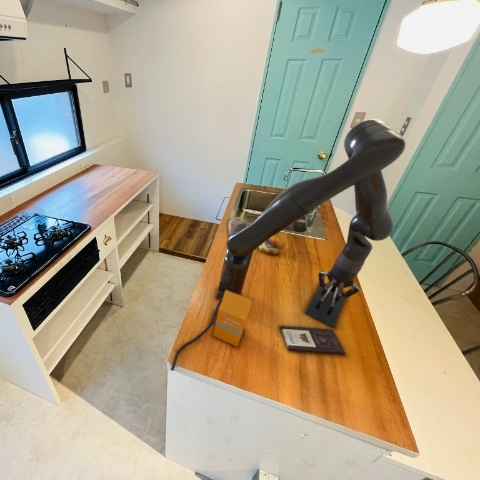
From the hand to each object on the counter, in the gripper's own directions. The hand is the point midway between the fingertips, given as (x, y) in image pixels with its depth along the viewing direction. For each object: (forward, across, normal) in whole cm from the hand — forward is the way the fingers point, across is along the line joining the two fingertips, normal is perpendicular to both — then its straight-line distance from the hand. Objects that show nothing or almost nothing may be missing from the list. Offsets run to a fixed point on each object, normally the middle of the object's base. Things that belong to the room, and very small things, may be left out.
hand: (328, 297), depth 99 cm
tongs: (0, 0, +1) cm, 1 cm away
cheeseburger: (+4, +31, -20) cm, 37 cm away
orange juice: (+4, +22, +38) cm, 44 cm away
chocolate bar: (+4, -1, +21) cm, 21 cm away
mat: (+4, 0, -1) cm, 4 cm away
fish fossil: (+4, +53, -26) cm, 59 cm away
